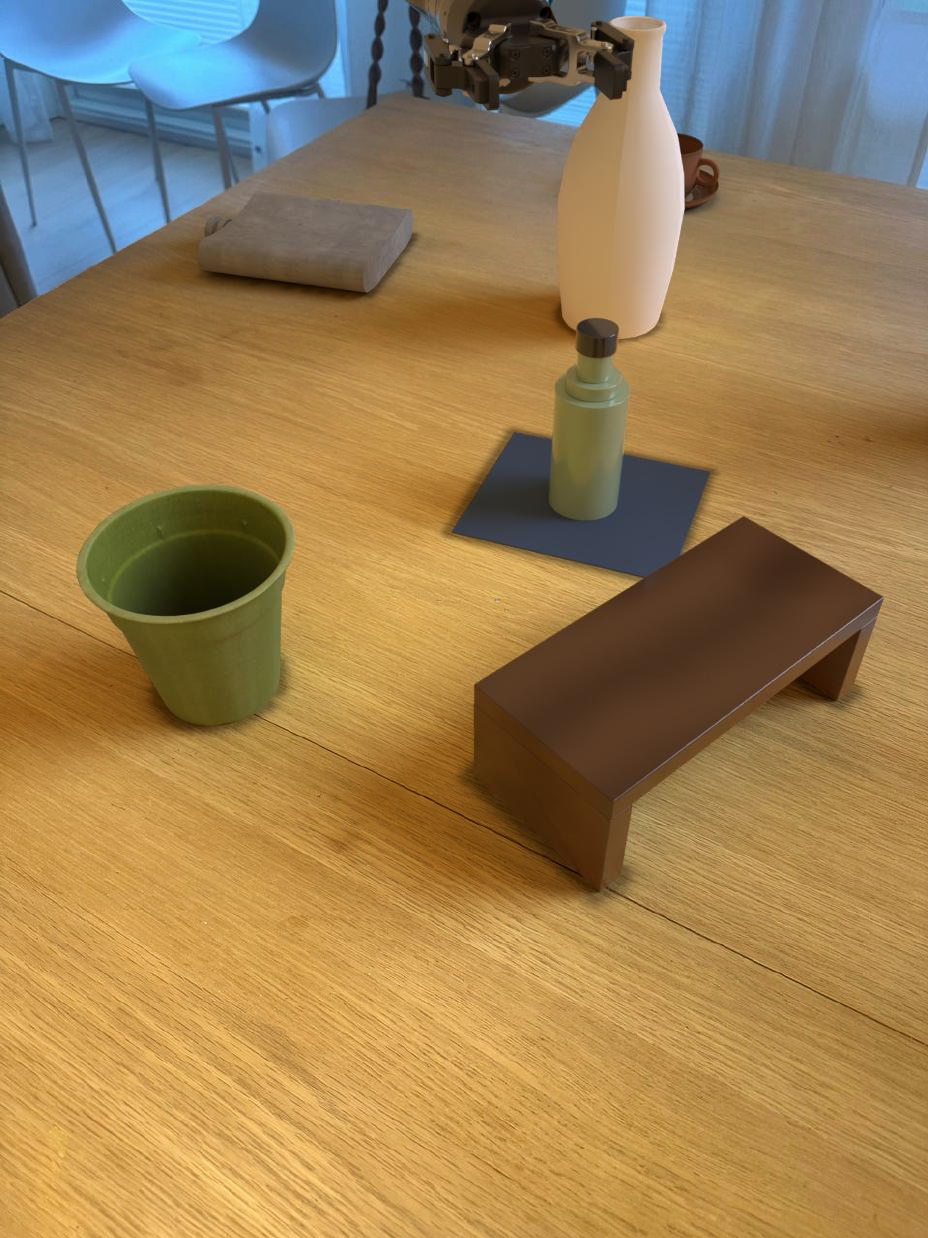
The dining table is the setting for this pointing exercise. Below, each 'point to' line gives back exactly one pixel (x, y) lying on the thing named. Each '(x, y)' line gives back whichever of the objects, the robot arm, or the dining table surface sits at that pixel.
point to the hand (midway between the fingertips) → (557, 88)
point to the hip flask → (307, 241)
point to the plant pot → (196, 594)
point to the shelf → (660, 684)
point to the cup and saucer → (696, 172)
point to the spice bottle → (589, 427)
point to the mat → (621, 541)
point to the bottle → (622, 198)
